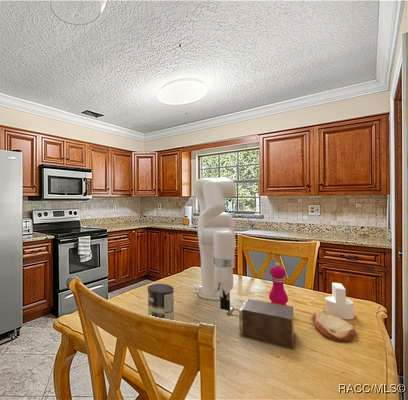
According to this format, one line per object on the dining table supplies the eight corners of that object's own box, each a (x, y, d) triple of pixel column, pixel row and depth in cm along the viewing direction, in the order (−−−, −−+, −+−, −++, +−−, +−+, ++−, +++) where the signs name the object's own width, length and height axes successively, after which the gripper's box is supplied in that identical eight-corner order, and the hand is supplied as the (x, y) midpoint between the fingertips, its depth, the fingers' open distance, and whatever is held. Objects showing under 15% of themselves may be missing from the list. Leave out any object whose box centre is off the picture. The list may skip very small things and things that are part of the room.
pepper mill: (291, 311, 117) (290, 265, 117) (272, 310, 118) (271, 264, 118) (284, 305, 124) (282, 261, 124) (266, 304, 125) (265, 261, 125)
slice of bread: (320, 315, 113) (320, 305, 113) (375, 334, 96) (374, 324, 96) (289, 322, 107) (288, 312, 107) (341, 344, 90) (340, 333, 90)
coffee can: (151, 329, 103) (151, 292, 103) (145, 318, 113) (145, 284, 114) (178, 328, 104) (177, 291, 104) (169, 316, 114) (169, 283, 114)
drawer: (225, 329, 100) (224, 308, 101) (232, 318, 110) (231, 298, 110) (284, 343, 90) (283, 319, 90) (286, 329, 99) (285, 308, 99)
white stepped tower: (356, 321, 106) (355, 290, 107) (327, 316, 111) (326, 287, 111) (350, 312, 114) (350, 284, 114) (323, 308, 119) (323, 281, 119)
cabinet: (242, 336, 96) (242, 309, 97) (248, 323, 107) (248, 298, 107) (292, 349, 88) (291, 319, 88) (293, 333, 98) (293, 306, 98)
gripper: (219, 257, 114) (220, 301, 114) (207, 265, 102) (209, 313, 102) (239, 259, 109) (240, 305, 109) (229, 268, 98) (230, 318, 98)
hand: (225, 309), depth 106 cm, fingers closed
